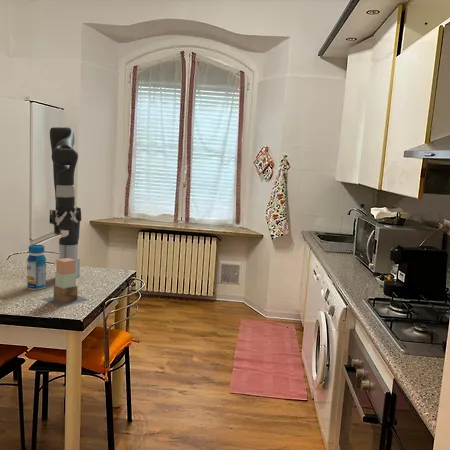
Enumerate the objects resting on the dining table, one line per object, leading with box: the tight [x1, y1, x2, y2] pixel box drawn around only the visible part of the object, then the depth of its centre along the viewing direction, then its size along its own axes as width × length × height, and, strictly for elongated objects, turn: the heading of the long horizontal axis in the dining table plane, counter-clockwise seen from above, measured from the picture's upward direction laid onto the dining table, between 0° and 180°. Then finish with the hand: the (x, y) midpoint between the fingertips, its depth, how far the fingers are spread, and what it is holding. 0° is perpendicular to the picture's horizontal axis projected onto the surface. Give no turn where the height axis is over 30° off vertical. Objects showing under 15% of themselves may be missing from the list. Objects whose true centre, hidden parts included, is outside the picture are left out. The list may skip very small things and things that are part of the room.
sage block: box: [54, 272, 77, 289], centre depth 198 cm, size 6×6×6 cm
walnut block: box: [53, 285, 78, 303], centre depth 199 cm, size 7×7×6 cm
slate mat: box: [42, 295, 89, 308], centre depth 200 cm, size 14×14×1 cm
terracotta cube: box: [55, 258, 75, 275], centre depth 198 cm, size 6×6×6 cm
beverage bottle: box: [26, 244, 47, 291], centre depth 214 cm, size 8×8×20 cm
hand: (65, 232), depth 202 cm, fingers open, 8 cm apart
